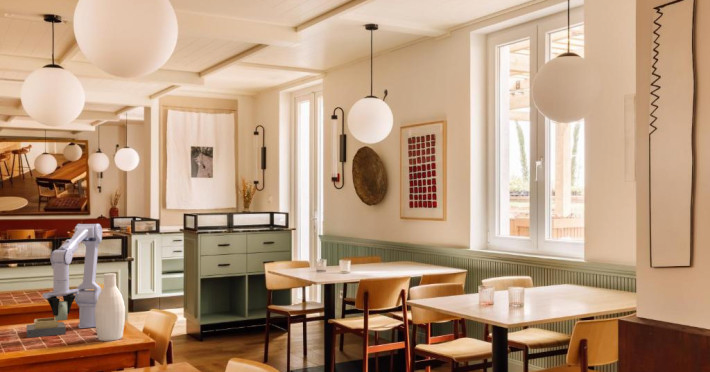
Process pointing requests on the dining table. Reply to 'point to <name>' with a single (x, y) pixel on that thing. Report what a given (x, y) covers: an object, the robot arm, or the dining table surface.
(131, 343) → the dining table surface
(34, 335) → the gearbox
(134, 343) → the dining table surface
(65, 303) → the spout can
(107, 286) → the bottle
